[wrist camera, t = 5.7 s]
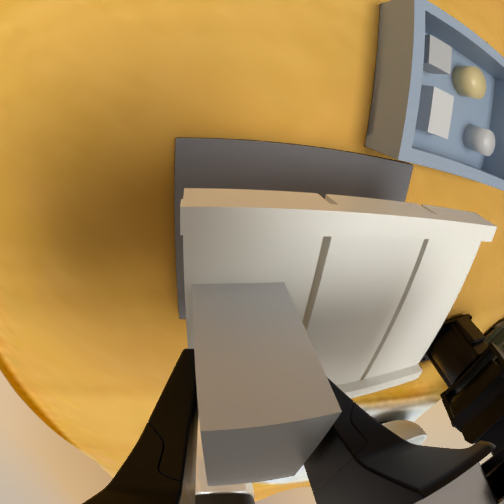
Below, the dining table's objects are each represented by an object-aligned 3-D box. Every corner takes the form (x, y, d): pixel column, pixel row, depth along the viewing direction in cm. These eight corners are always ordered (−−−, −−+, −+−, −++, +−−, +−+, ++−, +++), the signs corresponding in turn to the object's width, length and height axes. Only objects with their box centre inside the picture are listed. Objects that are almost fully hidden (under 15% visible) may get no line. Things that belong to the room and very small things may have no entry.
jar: (164, 439, 30) (169, 523, 19) (172, 411, 26) (178, 515, 16) (232, 443, 32) (246, 521, 22) (252, 416, 29) (273, 511, 19)
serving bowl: (300, 468, 45) (308, 496, 39) (316, 430, 35) (330, 469, 29) (389, 439, 48) (400, 463, 42) (429, 389, 38) (447, 419, 32)
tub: (479, 177, 19) (507, 192, 16) (364, 146, 16) (397, 159, 13) (494, 73, 14) (524, 78, 11) (380, 4, 11) (414, -7, 8)
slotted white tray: (406, 361, 16) (448, 429, 11) (192, 393, 14) (202, 500, 8) (475, 212, 11) (560, 276, 6) (182, 188, 8) (167, 335, 3)
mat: (366, 305, 23) (369, 308, 22) (179, 315, 20) (179, 318, 20) (409, 163, 17) (413, 165, 17) (176, 137, 14) (175, 138, 14)
